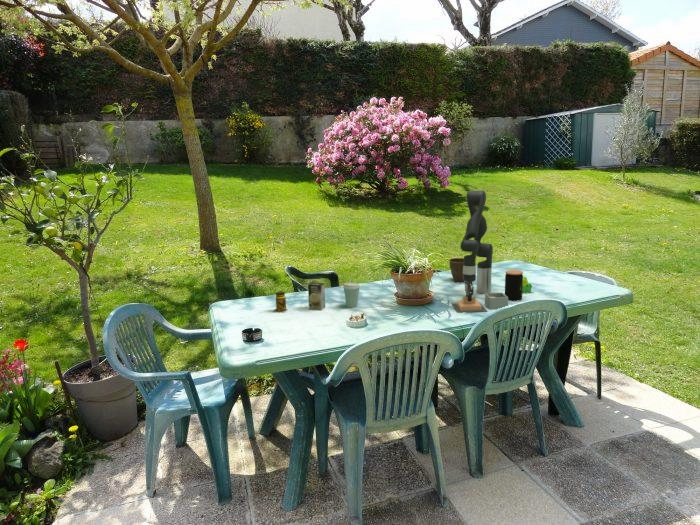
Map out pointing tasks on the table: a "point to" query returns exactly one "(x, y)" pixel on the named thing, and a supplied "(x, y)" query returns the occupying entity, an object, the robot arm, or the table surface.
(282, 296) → the condiment
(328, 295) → the table surface
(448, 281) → the table surface
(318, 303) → the coffee box
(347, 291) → the disposable coffee cup
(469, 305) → the lid
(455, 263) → the plant pot
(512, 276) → the coffee jar
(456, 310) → the rubber mat
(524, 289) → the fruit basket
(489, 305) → the storage box
